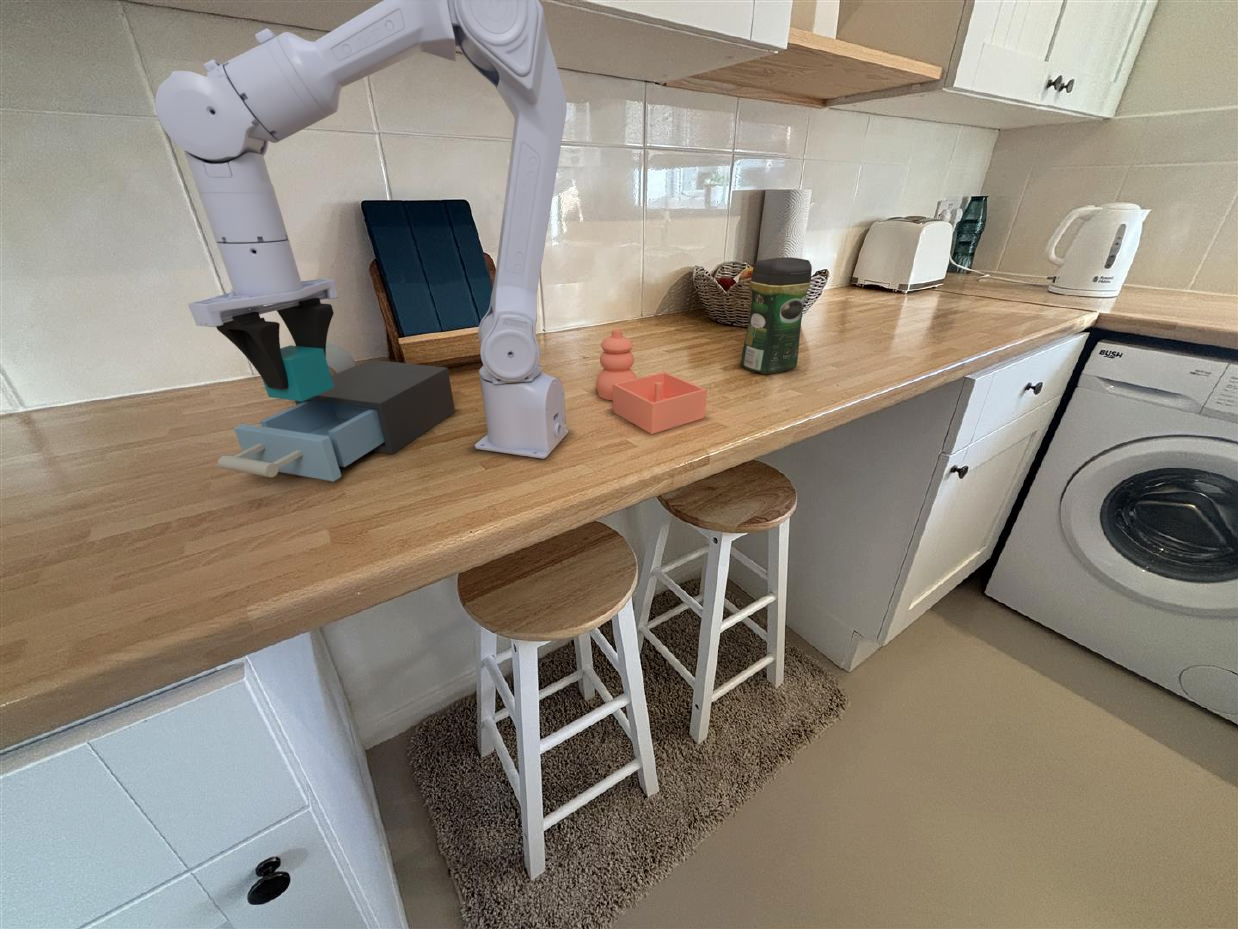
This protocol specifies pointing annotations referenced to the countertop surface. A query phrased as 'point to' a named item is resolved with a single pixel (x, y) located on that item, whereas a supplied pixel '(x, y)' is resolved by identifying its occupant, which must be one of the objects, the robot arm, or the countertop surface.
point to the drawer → (306, 441)
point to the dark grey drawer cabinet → (395, 398)
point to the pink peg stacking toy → (646, 390)
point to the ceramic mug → (338, 358)
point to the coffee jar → (776, 314)
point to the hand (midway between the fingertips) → (298, 379)
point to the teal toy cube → (303, 374)
